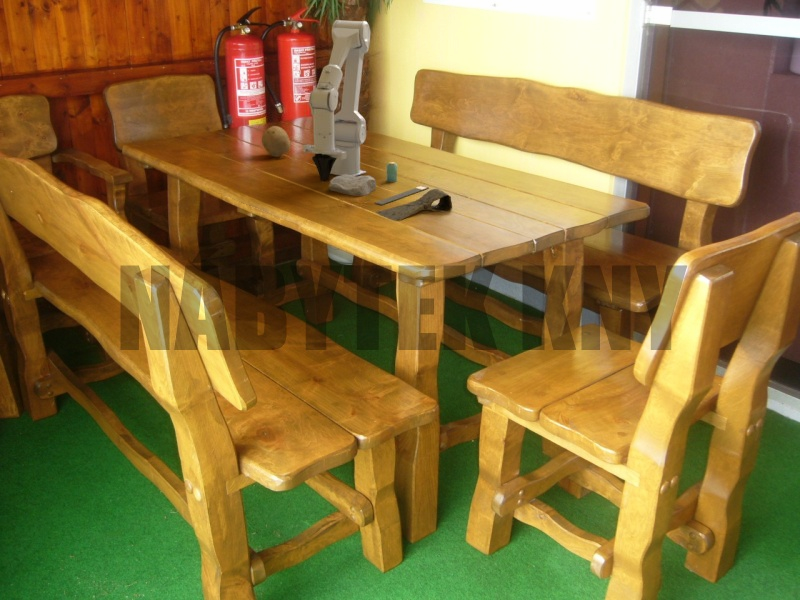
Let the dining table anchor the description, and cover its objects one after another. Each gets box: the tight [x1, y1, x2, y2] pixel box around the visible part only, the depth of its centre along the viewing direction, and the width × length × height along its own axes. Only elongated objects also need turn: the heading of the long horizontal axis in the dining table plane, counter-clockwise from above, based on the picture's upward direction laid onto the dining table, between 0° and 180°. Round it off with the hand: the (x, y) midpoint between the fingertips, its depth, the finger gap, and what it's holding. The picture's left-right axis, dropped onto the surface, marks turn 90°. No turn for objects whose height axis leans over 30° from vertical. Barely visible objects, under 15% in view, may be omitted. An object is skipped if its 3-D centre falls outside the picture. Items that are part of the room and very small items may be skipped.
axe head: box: [376, 188, 453, 222], centre depth 214 cm, size 21×5×10 cm
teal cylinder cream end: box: [386, 161, 398, 183], centre depth 242 cm, size 3×3×5 cm
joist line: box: [374, 185, 430, 206], centre depth 228 cm, size 2×22×1 cm, turn 144°
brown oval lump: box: [261, 125, 291, 158], centre depth 266 cm, size 9×9×10 cm
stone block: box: [328, 174, 377, 197], centre depth 232 cm, size 12×5×10 cm
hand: (324, 180), depth 234 cm, fingers closed
